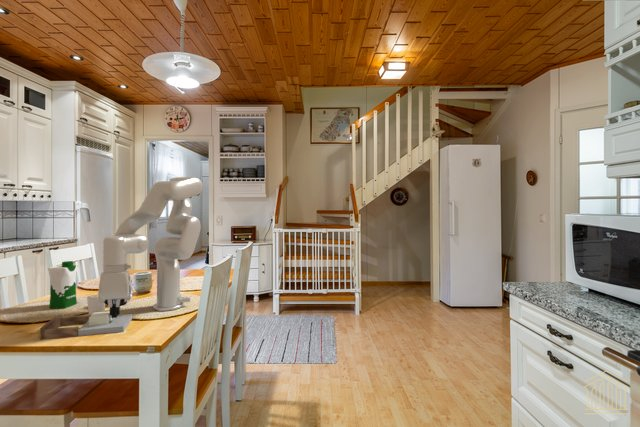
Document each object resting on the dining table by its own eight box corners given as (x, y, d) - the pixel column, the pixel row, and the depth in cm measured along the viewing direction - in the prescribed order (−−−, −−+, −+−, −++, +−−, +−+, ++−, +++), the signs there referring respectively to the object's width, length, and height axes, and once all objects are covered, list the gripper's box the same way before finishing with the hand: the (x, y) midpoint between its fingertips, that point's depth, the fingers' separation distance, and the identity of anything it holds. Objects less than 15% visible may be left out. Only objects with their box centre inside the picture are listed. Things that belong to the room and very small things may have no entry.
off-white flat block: (112, 318, 128) (112, 311, 128) (107, 324, 123) (107, 316, 122) (93, 320, 126) (93, 312, 126) (88, 325, 121) (88, 317, 120)
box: (90, 322, 130) (90, 312, 129) (77, 336, 116) (77, 324, 116) (58, 325, 126) (58, 314, 126) (40, 339, 113) (40, 327, 113)
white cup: (110, 310, 144) (110, 294, 144) (98, 315, 138) (98, 298, 137) (95, 309, 145) (95, 293, 145) (82, 314, 138) (82, 298, 138)
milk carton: (65, 309, 145) (64, 263, 144) (45, 308, 145) (44, 263, 145) (80, 303, 154) (80, 260, 153) (61, 302, 154) (61, 259, 153)
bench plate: (132, 318, 134) (132, 314, 134) (123, 331, 121) (123, 326, 121) (91, 322, 130) (91, 317, 130) (78, 335, 116) (78, 330, 116)
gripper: (139, 266, 131) (138, 312, 132) (95, 267, 126) (95, 315, 127) (135, 269, 124) (135, 318, 125) (88, 271, 119) (88, 322, 120)
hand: (114, 316), depth 126 cm, fingers closed
